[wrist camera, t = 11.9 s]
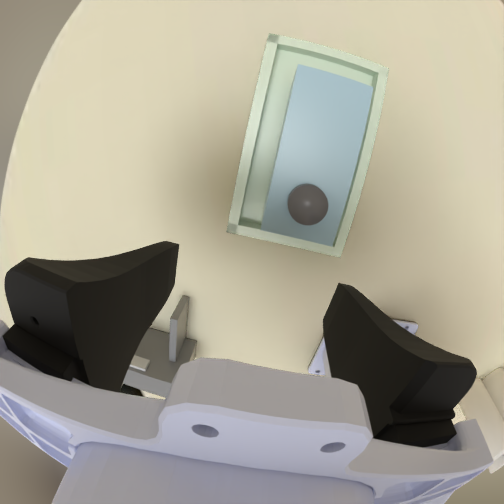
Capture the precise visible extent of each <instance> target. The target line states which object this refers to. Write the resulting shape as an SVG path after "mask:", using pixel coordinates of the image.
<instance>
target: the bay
mask: <svg viewBox="0 0 504 504" xmlns="http://www.w3.org/2000/svg"><path fill="white" fill-rule="evenodd" d="M188 304H189V297H187V296H182V298H181V300H180V301H179V303H178V305H177V307H176V309H175V311H174V313H173V314H172V316H171V318H170V334H169V333H165V332H162V331H158V330H155V329H152V328H149V329H148V330H147V332H146V333H145V335H144V337H143V338H142V340H141V342H140V344H139V346H138V348H137V350H136V352H135V355H134V357H133V359H132V361H131V364H130V366H129V368H128V371H127V373H126V376H125V378H124V381H123V383H124V384H126V385H129V386H132V387H135V388H138V389H140V390H143V391H146V392H149V393H152V394H156V395H159V396H162V397H165V398H166V396H167V394H168V391H169V389H170V386H171V384H172V381H173V378H174V377H175V375H176V373H177V371H178V369H179V368H180V366H181V365H182V364H184V363H187V362H190V361H193V360H194V359H195V351H196V343H197V341H195V340H191V339H187V338H186V326H187V315H188Z"/></svg>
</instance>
